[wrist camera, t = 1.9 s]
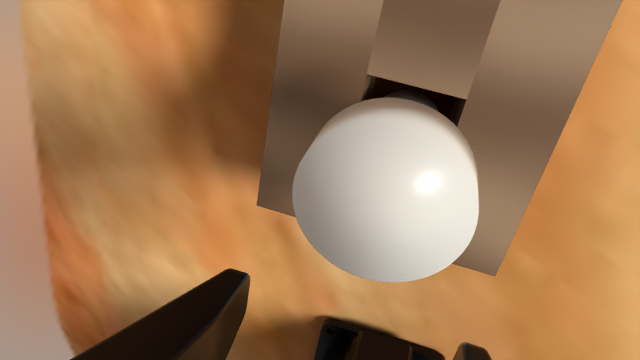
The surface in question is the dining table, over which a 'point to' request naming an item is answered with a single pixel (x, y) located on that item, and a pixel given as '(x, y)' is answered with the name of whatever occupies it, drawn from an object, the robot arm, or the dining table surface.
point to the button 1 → (388, 189)
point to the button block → (439, 87)
